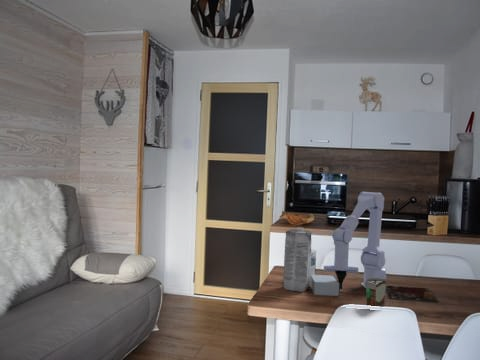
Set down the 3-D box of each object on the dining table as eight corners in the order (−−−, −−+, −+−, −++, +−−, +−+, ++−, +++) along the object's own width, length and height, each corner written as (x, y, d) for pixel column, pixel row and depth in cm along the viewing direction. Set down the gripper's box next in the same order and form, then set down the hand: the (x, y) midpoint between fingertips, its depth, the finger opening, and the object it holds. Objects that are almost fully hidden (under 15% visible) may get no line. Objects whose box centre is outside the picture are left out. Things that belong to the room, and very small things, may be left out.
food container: (370, 300, 168) (371, 276, 168) (385, 304, 164) (387, 279, 164) (358, 307, 158) (359, 281, 158) (374, 310, 154) (375, 284, 154)
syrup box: (309, 282, 194) (311, 251, 194) (298, 280, 197) (300, 249, 197) (315, 280, 198) (316, 250, 198) (304, 278, 202) (305, 248, 202)
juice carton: (305, 293, 174) (307, 229, 174) (281, 289, 178) (284, 227, 178) (310, 288, 182) (313, 227, 182) (287, 285, 186) (290, 225, 186)
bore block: (333, 287, 186) (333, 275, 186) (339, 296, 172) (340, 283, 172) (310, 286, 187) (310, 274, 187) (314, 294, 173) (315, 282, 173)
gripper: (325, 257, 172) (324, 290, 172) (360, 259, 172) (359, 291, 172) (323, 254, 180) (321, 285, 180) (356, 256, 179) (355, 287, 179)
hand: (340, 288), depth 176 cm, fingers closed
